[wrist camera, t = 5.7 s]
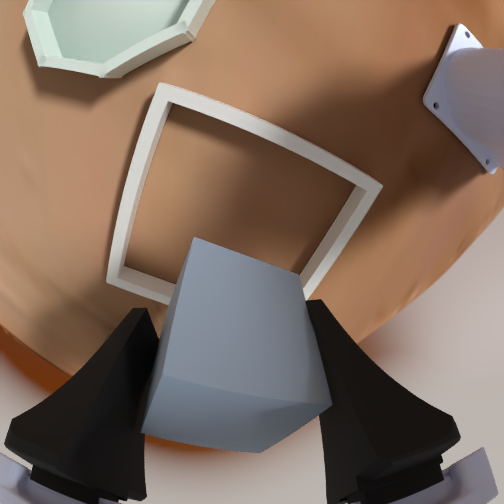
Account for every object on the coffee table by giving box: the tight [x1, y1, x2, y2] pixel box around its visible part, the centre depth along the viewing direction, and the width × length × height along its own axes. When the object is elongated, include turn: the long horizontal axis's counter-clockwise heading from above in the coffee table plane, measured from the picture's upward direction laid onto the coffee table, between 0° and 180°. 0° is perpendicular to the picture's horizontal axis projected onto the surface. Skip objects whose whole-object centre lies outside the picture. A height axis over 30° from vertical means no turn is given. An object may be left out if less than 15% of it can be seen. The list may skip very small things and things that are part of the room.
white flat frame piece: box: [106, 82, 383, 305], centre depth 17 cm, size 14×14×2 cm
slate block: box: [140, 237, 333, 453], centre depth 10 cm, size 4×4×6 cm
